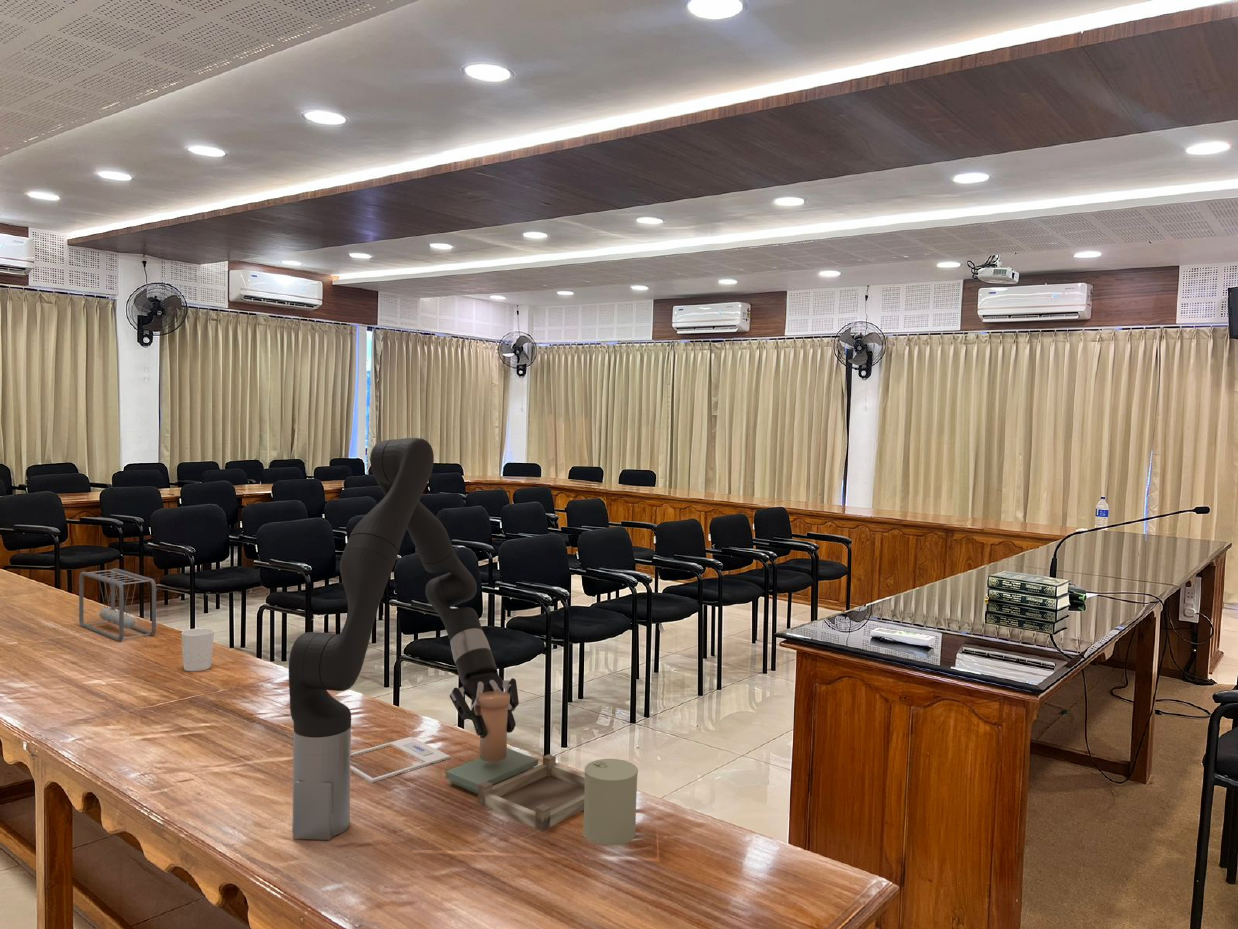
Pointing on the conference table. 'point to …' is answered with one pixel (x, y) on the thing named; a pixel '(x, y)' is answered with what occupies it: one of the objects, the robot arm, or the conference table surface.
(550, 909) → the conference table surface
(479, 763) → the green stand
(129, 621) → the newton's cradle
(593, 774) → the can
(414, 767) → the photo frame
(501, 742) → the brown capped bottle
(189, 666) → the white cup
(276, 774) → the conference table surface
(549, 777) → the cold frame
